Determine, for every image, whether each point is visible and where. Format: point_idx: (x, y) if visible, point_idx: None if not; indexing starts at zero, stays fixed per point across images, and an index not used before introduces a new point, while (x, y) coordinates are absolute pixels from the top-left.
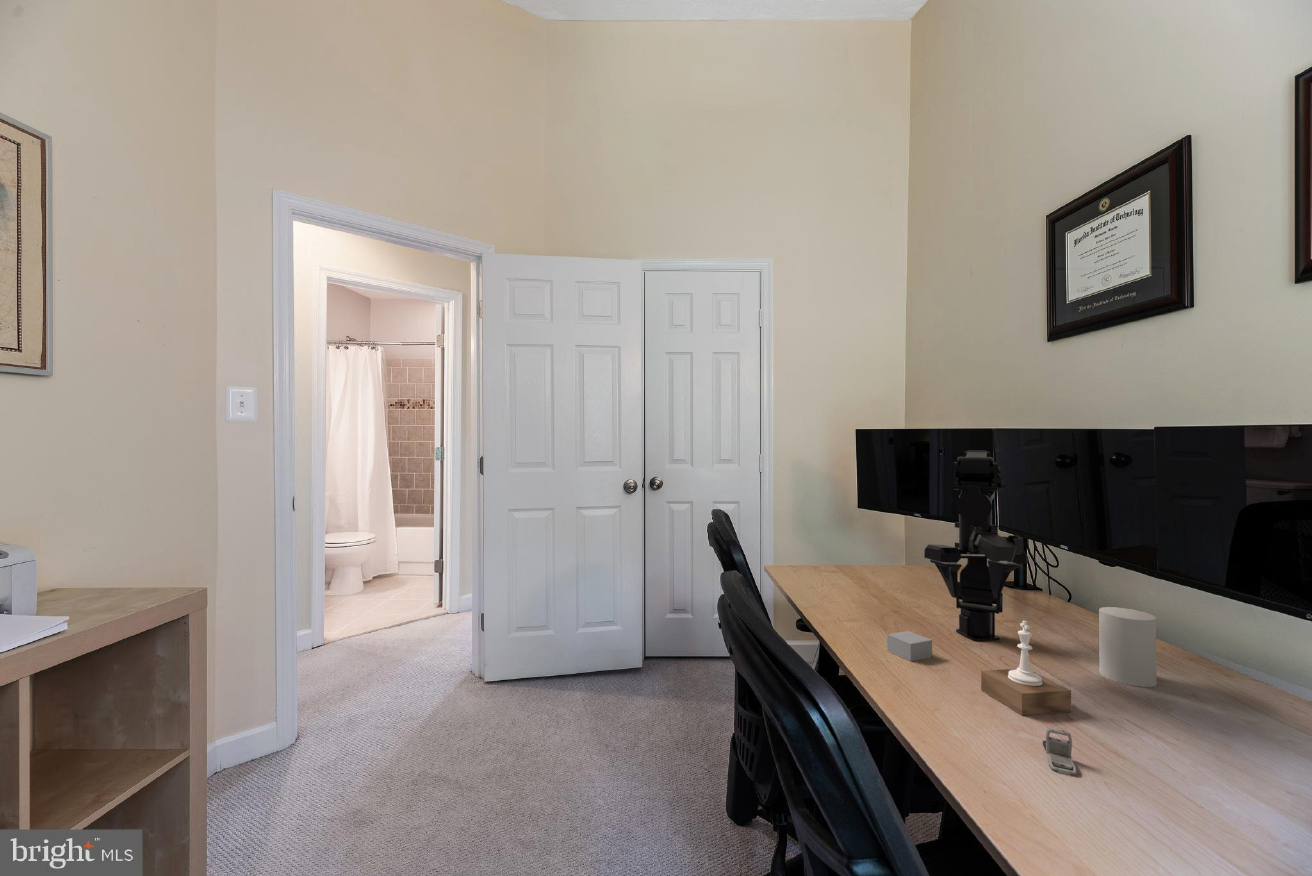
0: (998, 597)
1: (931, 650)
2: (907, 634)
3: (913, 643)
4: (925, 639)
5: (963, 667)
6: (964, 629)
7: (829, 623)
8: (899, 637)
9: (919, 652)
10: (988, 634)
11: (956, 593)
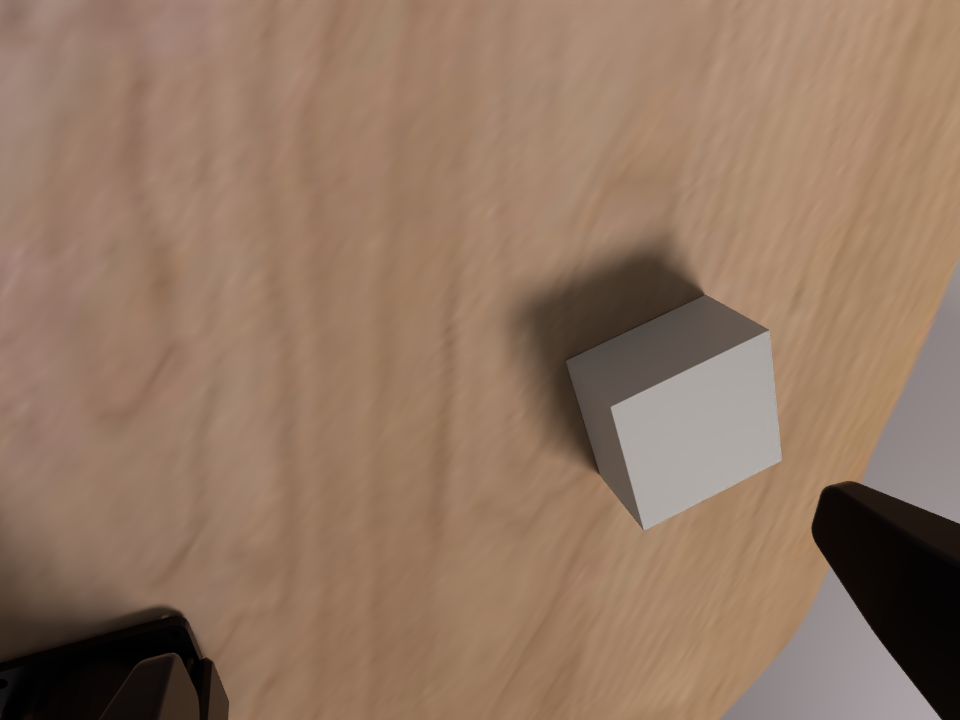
0: (151, 659)
1: (586, 374)
2: (686, 474)
3: (748, 340)
4: (642, 411)
5: (482, 222)
6: (215, 695)
7: (746, 670)
8: (755, 424)
9: (670, 336)
10: (68, 678)
11: (890, 513)
